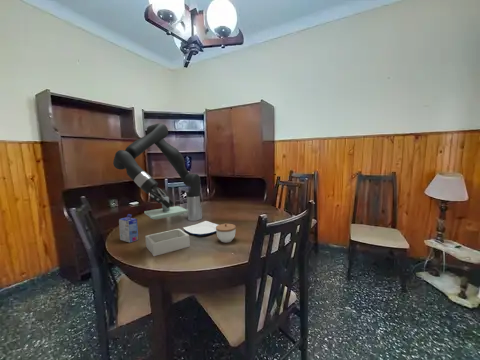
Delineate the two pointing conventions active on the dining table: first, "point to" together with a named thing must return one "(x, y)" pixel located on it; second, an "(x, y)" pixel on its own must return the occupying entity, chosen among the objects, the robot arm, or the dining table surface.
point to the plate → (201, 228)
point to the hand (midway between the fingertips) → (170, 205)
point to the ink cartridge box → (128, 229)
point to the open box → (167, 241)
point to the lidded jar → (226, 232)
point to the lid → (165, 211)
